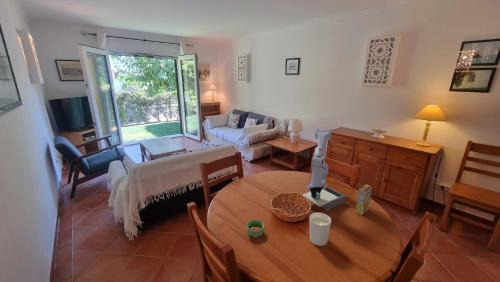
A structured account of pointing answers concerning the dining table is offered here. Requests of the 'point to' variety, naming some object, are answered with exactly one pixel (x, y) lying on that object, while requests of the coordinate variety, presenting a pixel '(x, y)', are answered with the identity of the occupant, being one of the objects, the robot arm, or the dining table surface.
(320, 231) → the candle holder
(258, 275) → the dining table surface
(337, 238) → the dining table surface
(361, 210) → the candy box
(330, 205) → the grey open box
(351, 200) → the dining table surface
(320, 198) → the lid
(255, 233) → the green ring
